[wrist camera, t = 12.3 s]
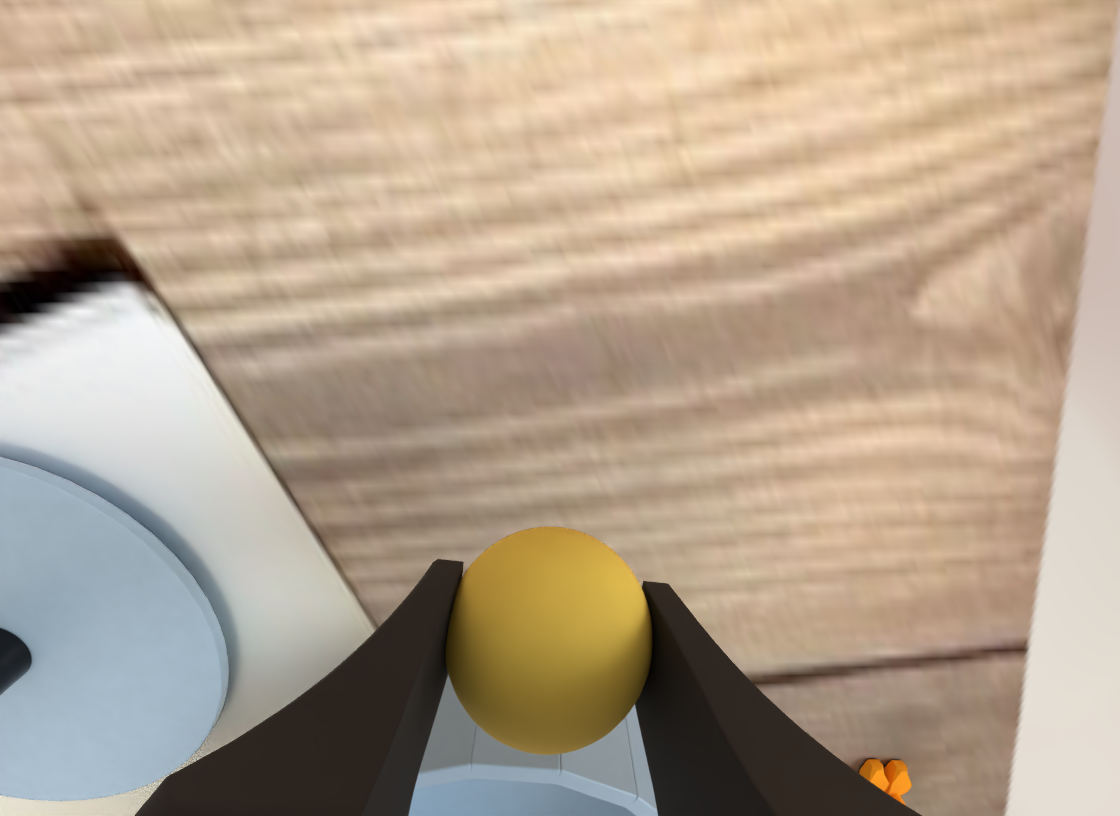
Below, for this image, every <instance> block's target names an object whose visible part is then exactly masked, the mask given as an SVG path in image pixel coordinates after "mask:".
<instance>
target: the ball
mask: <svg viewBox="0 0 1120 816" xmlns="http://www.w3.org/2000/svg"><path fill="white" fill-rule="evenodd" d="M652 646H653V639H652V621H651V616H650V611H649V607H648V604H647V600H646V598H645V595H644V592H643V590H642V588H641V586H640V584H639V582H638V580H637V579H636V577H635V575H634V574H633V572H632V571H631V569H630V568H629V566H628V565H627V564H626V563H625V562H624V561H623V560H622V559H621V558H620V557H619V556H618V555H617V553H615V552H614V551H613V550H612V549H611V548H609V547H608V546H607V545H605V544H604V543H602V542H600V541H599V540H597V539H595V538H594V537H592V536H589V535H587V534H585V533H582V532H579V531H576V530H573V529H567V528H562V527H538V528H531V529H526V530H523V531H519V532H516V533H514V534H511V535H509V536H507V537H505V538H503V539H502V540H500V541H498V542H496V543H495V544H493V545H492V546H491V547H489V548H488V549H486V550H485V551H484V552H483V553H482V554H481V555H480V556H479V557H478V558H477V559H476V560H475V561H474V562H473V563H472V564H471V566H470V567H469V568H468V569H467V571H466V572H465V574H464V575H463V577H462V579H461V581H460V582H459V586H458V589H457V594H456V598H455V601H454V605H453V609H452V614H451V618H450V623H449V628H448V634H447V642H446V652H445V659H446V666H447V671H448V675H449V678H450V681H451V684H452V686H453V689H454V691H455V693H456V695H457V697H458V700H459V701H460V703H461V704H462V706H463V707H464V709H465V710H466V712H467V713H468V715H469V716H470V717H471V718H472V720H473V721H474V722H475V723H476V724H477V725H478V726H479V727H480V728H481V729H483V730H484V731H485V732H486V733H487V734H488V735H490V736H491V737H493V738H494V739H496V740H497V741H499V742H501V743H503V744H505V745H507V746H509V747H512V748H514V749H517V750H520V751H523V752H527V753H533V754H542V755H553V754H563V753H568V752H572V751H576V750H579V749H581V748H584V747H586V746H588V745H590V744H592V743H594V742H596V741H598V740H600V739H601V738H603V737H604V736H606V735H607V734H608V733H610V732H611V731H612V730H613V729H614V728H615V727H616V726H617V725H618V724H619V723H620V722H621V721H622V720H623V719H624V718H625V717H626V716H627V714H628V713H629V712H630V711H631V709H632V707H633V706H634V704H635V703H636V701H637V699H638V698H639V696H640V694H641V692H642V689H643V687H644V684H645V682H646V679H647V676H648V673H649V668H650V663H651V658H652Z"/></svg>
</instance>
